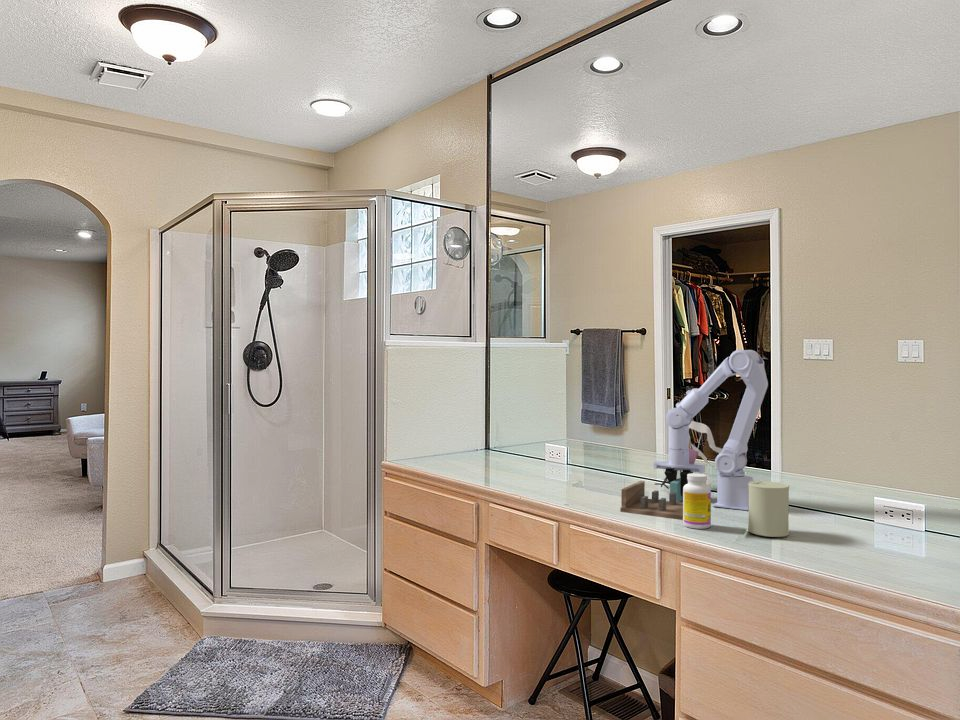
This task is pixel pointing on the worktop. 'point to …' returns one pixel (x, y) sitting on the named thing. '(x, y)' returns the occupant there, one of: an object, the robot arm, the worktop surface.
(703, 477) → the supplement bottle
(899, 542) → the worktop surface
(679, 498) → the door panel
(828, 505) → the worktop surface
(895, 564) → the worktop surface
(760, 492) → the can
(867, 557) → the worktop surface
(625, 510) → the board
